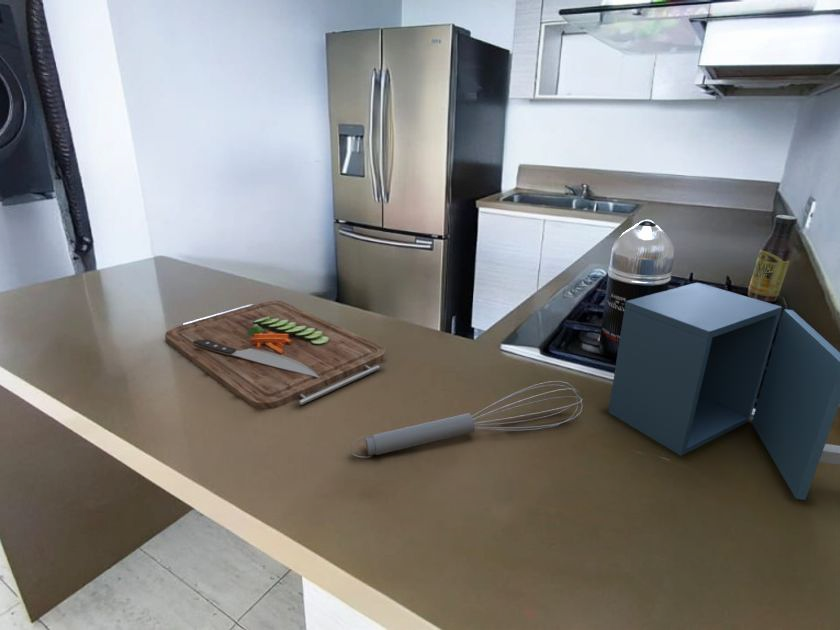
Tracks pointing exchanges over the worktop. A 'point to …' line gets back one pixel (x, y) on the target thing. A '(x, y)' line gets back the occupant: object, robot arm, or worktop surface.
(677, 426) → the cupboard
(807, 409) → the cupboard door
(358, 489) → the worktop surface
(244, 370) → the chopping board
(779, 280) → the sauce bottle
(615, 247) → the black domed canister
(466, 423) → the kitchen whisk
